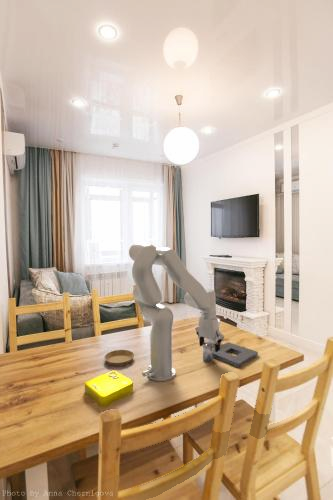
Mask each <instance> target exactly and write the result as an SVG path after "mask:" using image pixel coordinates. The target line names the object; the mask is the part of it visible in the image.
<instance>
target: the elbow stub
mask: <svg viewBox="0 0 333 500" xmlns="http://www.w3.org/2000/svg"><path fill="white" fill-rule="evenodd" d="M214 348H215V344H213V343H210V342H205V341H204V343H203V345H202V361H203V362H205V363H212V362H214V358H213V349H214Z"/></svg>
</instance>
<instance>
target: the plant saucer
mask: <svg viewBox="0 0 333 500" xmlns="http://www.w3.org/2000/svg"><path fill="white" fill-rule="evenodd" d="M134 357H135V353H134V352H133V351H131V350H127V349H116V350H112V351H109V352H107V353H106V354H105V355H104V361H106V362H107V363H108V364H109V365H112V366H116V367H117V366H118V367H119V366H125V365H128V363H130V362H131V361H132V360H133V359H134Z"/></svg>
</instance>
